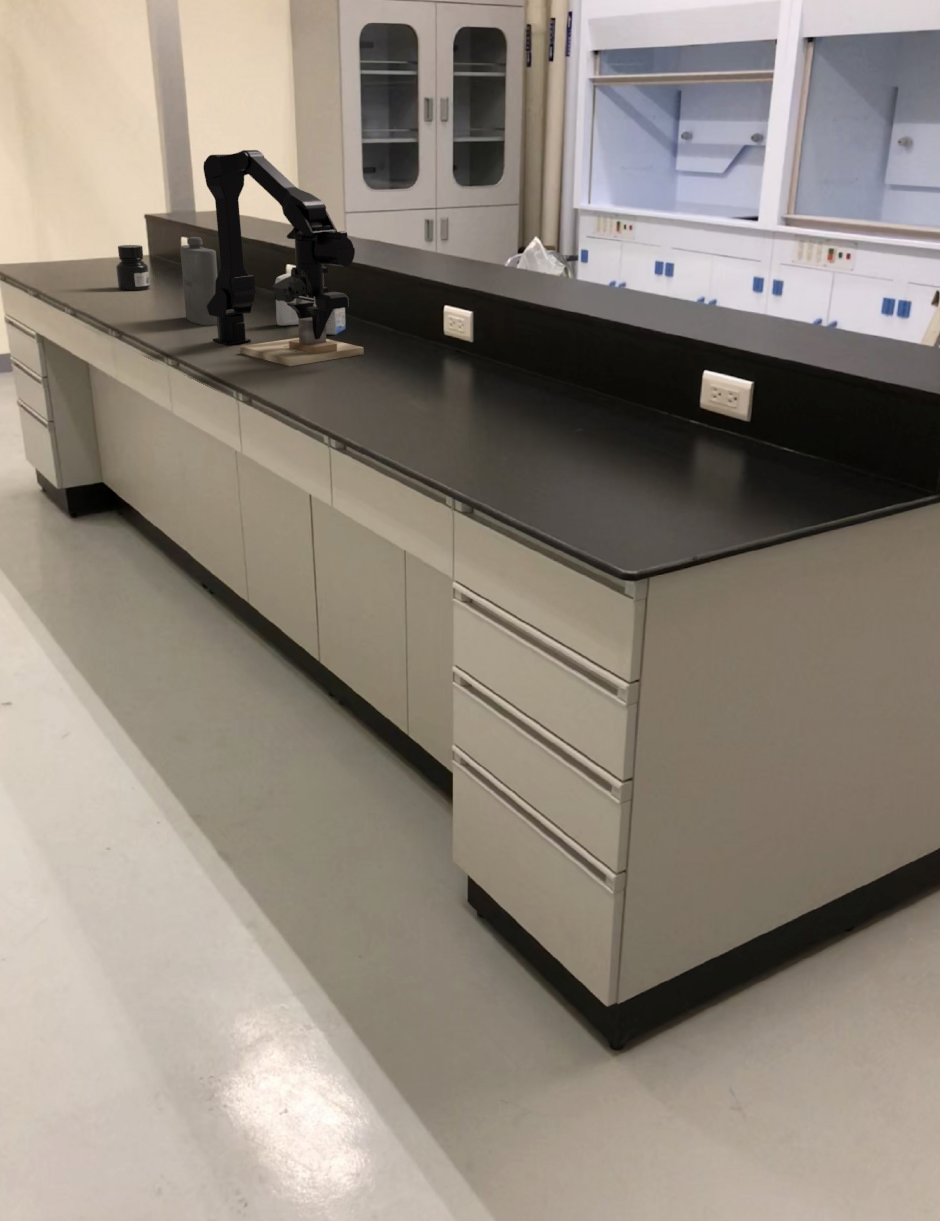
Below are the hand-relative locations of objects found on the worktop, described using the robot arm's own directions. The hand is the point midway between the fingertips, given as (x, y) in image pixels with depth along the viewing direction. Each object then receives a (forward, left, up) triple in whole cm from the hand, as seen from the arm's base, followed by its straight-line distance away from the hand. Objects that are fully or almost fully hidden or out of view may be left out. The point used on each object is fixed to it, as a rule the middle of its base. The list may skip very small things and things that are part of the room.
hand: (312, 337), depth 240 cm
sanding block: (0, 0, -2) cm, 2 cm away
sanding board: (-4, 0, -4) cm, 6 cm away
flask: (-53, +6, -4) cm, 53 cm away
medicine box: (-21, +22, -4) cm, 31 cm away
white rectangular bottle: (-35, +22, -4) cm, 41 cm away
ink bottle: (-112, +21, -4) cm, 114 cm away
